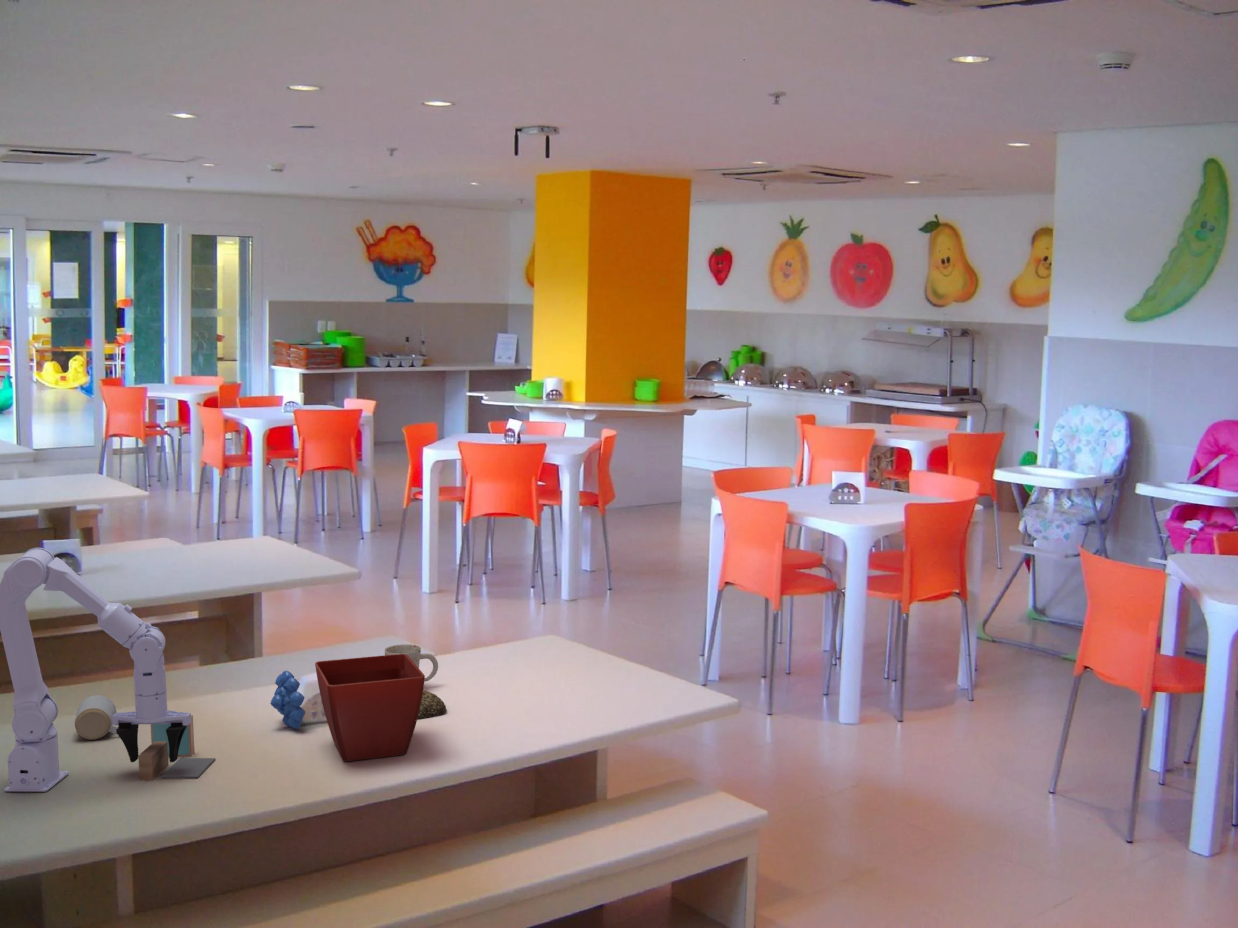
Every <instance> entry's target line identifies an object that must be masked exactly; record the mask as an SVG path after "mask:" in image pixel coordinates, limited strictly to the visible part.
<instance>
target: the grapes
mask: <svg viewBox="0 0 1238 928" xmlns="http://www.w3.org/2000/svg"><path fill="white" fill-rule="evenodd" d="M274 684H276V685H275V686H277V687H276V689H275V691H274V695H273V697H272V698H271V701H270V703H269V704H270V705H271V706H272V707H273V709H275V710H277V712H278V713H279V714H280V715H283V717H282V723H283V724H284V725H286V726H287V727H289V728H292V729H294V730H298V729H299V728H300V727H301V726H302V723H303V719H304V717H305V714H306V710H305V709H304V708H303V707H301V706H302V705H303V703H304V700H305V696H304V695H303V694H302V693H301V692H299V691H298V690H299V688H300V687H301V686H300V685H301V683H300V681H299V680H297V679H296V678H295V676H294V674H293V673H291V672H290V671H288V670H284V671H282V673H279V675H278V676H277V677H276V679H275V682H274Z"/></svg>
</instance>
